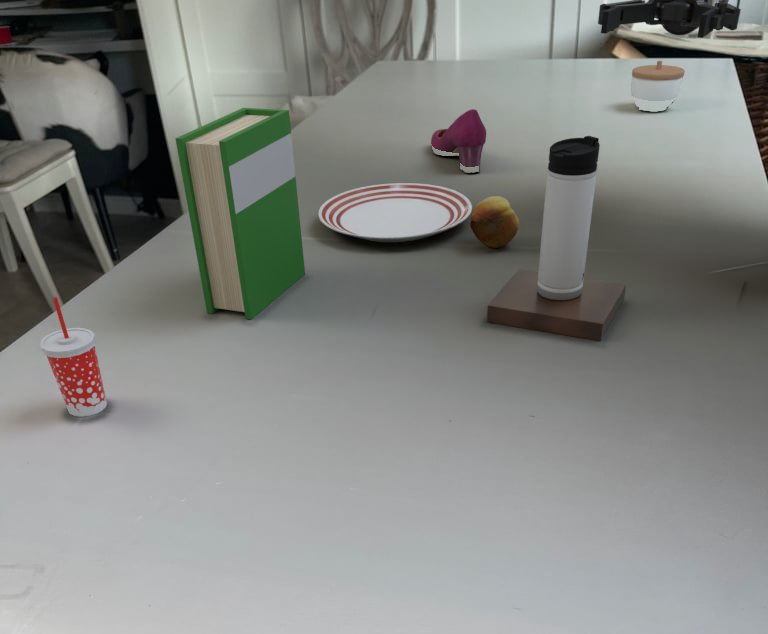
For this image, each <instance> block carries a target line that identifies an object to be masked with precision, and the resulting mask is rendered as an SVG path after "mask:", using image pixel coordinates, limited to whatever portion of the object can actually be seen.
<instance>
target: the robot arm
mask: <svg viewBox="0 0 768 634" xmlns="http://www.w3.org/2000/svg"><path fill="white" fill-rule="evenodd" d="M729 2H730V0H648V1H646V0H625V1H619V2H617V1H616V2H611V3H602V4H600V5H599V10H598V19H597V24H598V25H600V26H601V28H600V29H601V30H600V34H604V35H605V34H608V33H610V32H614V31H615V30H616V29H618V28H620V26H621V25H622V26H623V25H631V24H640V23H644V24H645V25H647V26H648V25H649V26H657V25H661V26H662V28H663V29H664V31H666V32H667V33H669V34H670V35H673V36H685V35H689V34H691V33H693V32H694V31H696V30H697V35H696V36H697V38H698V39H699V38H702V39H704V38H705V37H706V36H708V35H709V34H711V33H712V32H713V31H714V30H716V31H721V30H723V29H724V28H725V29H727V30H730V31H735V30H737V29H738V25H739V21H740V16H741V11H742V8H740V7H737V6H735V5H733V4H730V3H729Z"/></svg>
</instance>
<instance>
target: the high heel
mask: <svg viewBox="0 0 768 634" xmlns="http://www.w3.org/2000/svg"><path fill="white" fill-rule="evenodd" d="M486 140H487V129H486V127H485V124H484V123H483V121H482V119H481V117H480V115H479V112H478V110H477V109H474V108H473V109H472V108H471V109H469V110H467V111H465V112H463V113H462V114H461V115H459V116H458V117H457V118H456V119H455V120H454V121H453V122H452V123H451V124H450V125H449V127H448V128H440V129H437V130H435V131H434V132H433V134H432V135H431V140H430V145H431V144H432V146H433V147H434V148H435V149H438V150H441V151H446V152H452V153H459V157H458V159H459V164H460V163H461V164H462V165H463V166H465V167H475V166H479V165H480V166H481V160H482V152H483V148H484V146H485V144H486ZM459 170H460V171H461V172H462V173H463V174H467V173H466V172H463V171H462V170H461V169H459Z"/></svg>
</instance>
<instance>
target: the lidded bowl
mask: <svg viewBox="0 0 768 634" xmlns="http://www.w3.org/2000/svg"><path fill="white" fill-rule="evenodd" d="M685 72H686V71H685V69H684V68H682V67H680V66H676V65H667V64H663V60H657V61H656V64H647V65H640V66H636V67H633V69H632V71H631V82H630V94H631V97H632V96H633V97H635V98H638V99H642V100H648V101H665V100H671V99H674V98H676V97H677V98H678V96H679V94H680V92H681V87H682V84H683V81H684V76H685ZM677 98H676V99H677Z"/></svg>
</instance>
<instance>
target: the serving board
mask: <svg viewBox="0 0 768 634" xmlns="http://www.w3.org/2000/svg"><path fill="white" fill-rule="evenodd" d="M538 272H539V271H535V270H526V269H521V268H520V269H518V270H517V271H516V273H515V274H514V275H513V276H512V277H511V278H510V279H509V280H508V282H507V283H506V284H505V285H504V286H503V288H501V290H500V291H499V292H498V293H497V294H496V296H494V298H493V299H492V300H491V301H490V302H489V303H488V304H487V315H486V323H491V324H498V325H503V326H509V327H514V328H521V329H528V330H533V331H538V332H544V333H550V334H556V335H562V336H569V337H574V338H580V339H585V340H593V341H598V342H601V341H602V339H603V338H604V336H605V334H606V332H607V330H608V329H609V327H610V325H611V324H612V322H613V320H614V318H615V317H616V315H617V313H618V311H619V309H620V308H621V306H622V304H623V303H624V300H625V297H626V296H625V295H626V289H627V284H626V283H619V282H612V281H605V280H600V279H599V280H598V279H591V278H586V277H584V279H583V287H582V293H581V294H580V296H578V297H576V298H574V299H571V300H551V299H547V298H545V297H543V296H541V295H540V294H539V293H538V292H537V284H538Z"/></svg>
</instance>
